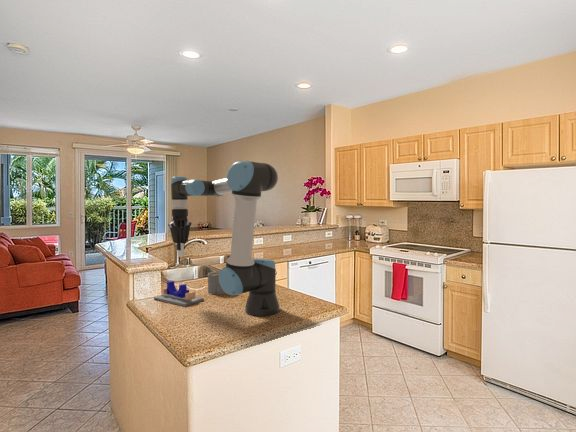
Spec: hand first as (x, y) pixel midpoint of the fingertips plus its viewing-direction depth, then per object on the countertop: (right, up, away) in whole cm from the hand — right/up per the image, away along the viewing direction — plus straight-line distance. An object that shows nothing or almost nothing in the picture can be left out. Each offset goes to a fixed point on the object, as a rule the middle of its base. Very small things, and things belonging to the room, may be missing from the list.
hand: (180, 256), depth 173 cm
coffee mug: (+14, -21, +18) cm, 31 cm away
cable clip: (-2, -19, +1) cm, 19 cm away
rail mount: (-1, -21, +1) cm, 21 cm away
